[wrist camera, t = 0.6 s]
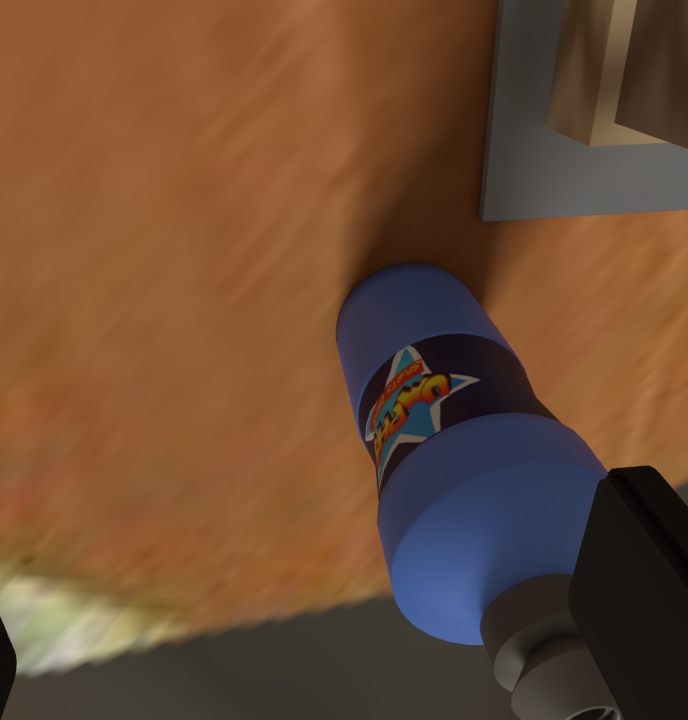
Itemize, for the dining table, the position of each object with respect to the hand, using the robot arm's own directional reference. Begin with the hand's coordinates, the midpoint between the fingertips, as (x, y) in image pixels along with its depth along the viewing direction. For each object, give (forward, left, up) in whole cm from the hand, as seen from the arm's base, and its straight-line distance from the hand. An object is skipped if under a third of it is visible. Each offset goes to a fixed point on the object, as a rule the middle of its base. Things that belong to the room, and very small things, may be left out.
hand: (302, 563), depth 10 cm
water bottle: (+11, +8, -28) cm, 31 cm away
